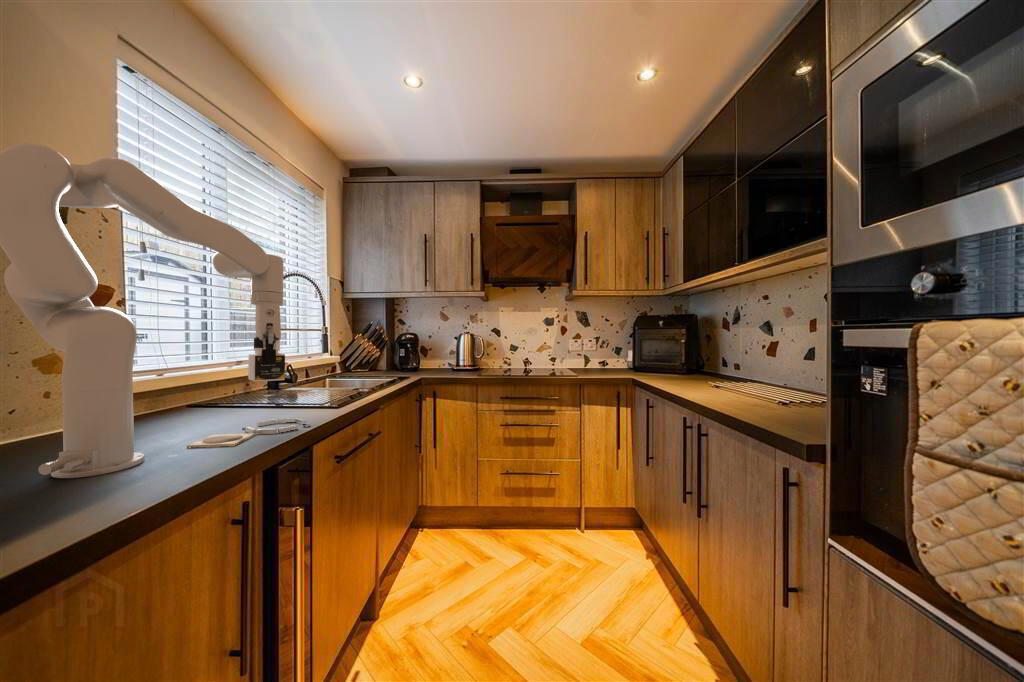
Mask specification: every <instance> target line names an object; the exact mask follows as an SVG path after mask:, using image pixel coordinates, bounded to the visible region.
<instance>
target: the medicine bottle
mask: <svg viewBox="0 0 1024 682" xmlns="http://www.w3.org/2000/svg"><path fill="white" fill-rule="evenodd" d="M278 339H279V338H275V345H276V349H275V350H276V364H275V365H262V350H263V341H261V340H260V339H259V337H256V336H255V337H254V338H253V351H254V353H253V352H252V353H249V354H248V361H247V362H248V365H247V367H248V370H247V371H248V372H247V373H248V376H247V380H249V381H252V382H256V383H257V382H258V383H259V382H270V381H271V382H274V381H285V378H286V377H285V376H286V375H285V374H286V354H285V353H279V352H280V351H281V350H280V349H281V339H280V340H279V341H277V340H278Z"/></svg>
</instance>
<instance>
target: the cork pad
mask: <svg viewBox="0 0 1024 682" xmlns="http://www.w3.org/2000/svg"><path fill="white" fill-rule="evenodd" d="M255 436H256V434H255V433H247V432H245V433H227V434H226V433H225V434H223V433H222V434H211V435H209V436H207V437H204V438H202V439H200V440H197V441H194V442H192V443H190V444H187V445H186V449H190V448H189V447H206V448H221V447H220V446H229V447H236V446H237V444H238V445H240V444H242V443H244V442H246V441H247V439H248V440H249V439H251V438H253V437H255ZM245 440H246V441H245ZM243 441H244V442H243ZM241 442H242V443H241ZM239 443H240V444H239ZM235 445H236V446H235Z"/></svg>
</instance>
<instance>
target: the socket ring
mask: <svg viewBox="0 0 1024 682" xmlns="http://www.w3.org/2000/svg"><path fill="white" fill-rule="evenodd" d="M286 422H298V423H301V424H305V423H308V422H307V420H306V419H303V418H300V417H298V418H296V417H292V418H291V417H290V418H289V417H288V418H277V419H276V418H274V419H267V420H261V421H257V422H256V426H257V427H258V428H255V427H252V426H244V427H242V428H241V430H242V431H245V432H244V433H247V432H248V433H255V436H256V435H273V434H274V435H275V434H282V433H281V432H284V433H287V432H286V431H289V432H291V431H290V430H294V431H296V430H295V429H298V430H299V424H294V425H288V426H284V427H278V428H276V427H275V428H274V427H273V428H259V427H264V426H271V425H276V423H277V424H287V423H286ZM270 424H271V425H270ZM301 424H300V425H301ZM310 425H311V424H306V425H303V426H310ZM310 427H311V426H310ZM244 429H245V430H244Z"/></svg>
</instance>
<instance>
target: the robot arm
mask: <svg viewBox="0 0 1024 682" xmlns="http://www.w3.org/2000/svg"><path fill="white" fill-rule="evenodd" d="M118 206H119V207H120V208H122V209H123V210H125V211H126V212H128V213H130V214H132V215H133V216H134V217H136V218H137V219H139V220H141V221H142V222H144V223H145V224H147V225H149V226H150V227H152V228H153V229H154V230H156V231H158V232H159V233H160V234H162V235H164V236H166V237H168V238H170V239H171V238H172V239H173V240H178V241H181V242H184V243H186V242H187V243H191V244H195V245H199V246H203V247H204V248H208V249H210V250H212V251H215V253H214V255H213V257H212V266H213V268H214V270H216V272H218V274H220V275H222V276H224V277H228V278H233V279H236V278H237V279H240V278H241V279H250V304H251V305H253V306H255V337H259V339H260V340H261V341H263V350H262V365H275V364H276V350H275V349H276V345H275V338H279V339H278V340H277V341H279V340H280V341H281V339H282V329H281V327H282V326H281V325H282V323H281V322H282V321H281V308H280V307H282V306H284V260H283V258H282V256H280V255H278V254H273V253H268V252H266V251H265V250H264V249H263V247H262V246H260V244H258V243H257V242H256V241H254V240H253V239H252V238H250V237H249V236H247V234H246V233H244V232H242V231H241V230H239V229H237V228H236V227H234V226H232V225H231V224H229V223H227V222H225V221H223V220H219V219H218V218H215V217H213V216H211V215H209V214H207V213H205V212H202V211H200V210H197V209H195V208H194V207H193V206H191V205H189V204H188V203H186V202H185V201H184V200H182V199H181V198H180V197H178V196H177V195H176V194H174V193H173V192H172V191H171V190H169V189H168V188H166V187H165V186H164V185H163V184H161V183H160V182H158V181H157V180H156V179H154V178H153V177H152V176H150V175H148V174H147V173H146V172H144V171H143V170H142V169H141V168H139V167H138V166H136V165H134V164H133V163H131V162H130V161H127V160H126V159H123V158H118V157H106V158H101V159H98V160H95V161H92V162H89V163H87V164H71V163H70V162H69V161H68V159H67V158H66V157H65V156H64V155H62V153H60V152H59V151H57V150H55V149H53V148H51V147H50V146H46V145H43V144H39V143H33V142H29V143H28V142H27V143H18V144H14V145H12V146H10V147H8V148H6V149H4V150H2V151H0V248H1V249H2V251H3V252H4V253H5V255H6V257H7V259H8V260H9V261H10V264H9V265H8V266H7V267H6V269H5V272H4V276H3V282H4V285H5V287H6V290H7V291H8V294H9V296H10V297H11V299H12V300H13V301H14V302H15V304H16V305H17V307H18V308H19V309H20V310H21V312H22V313H23V315H24V316H25V317H26V318H27V320H28V321H29V322H30V323H31V325H32V326H33V327H34V329H35V330H36V331H37V333H38V335H40V337H42V339H43V340H44V341H45V342H46V343H47V344H48V345H49V346H51V347H52V348H53V349H56V350H57V351H59V352H62V353H64V357H63V358H64V359H63V363H62V370H61V371H62V372H61V391H62V392H61V395H62V397H61V400H62V401H61V402H62V405H61V406H62V440H63V441H62V442H63V445H62V446H63V448H62V449H63V450H62V451H61V452H60V451H59V452H58V458H57V459H55V460H52V461H48V462H45V463H42V464H40V465H39V466H38V472H39V474H41V475H42V476H43V475H45V476H46V475H49V474H50V476H51V477H52V478H55V479H56V478H57V479H76V478H86V477H87V478H88V477H93V476H99V475H104V474H109V473H114V472H119V471H123V470H126V469H129V468H132V467H135V466H138V465H140V464H141V463H144V461H145V453H142V452H135V438H134V436H135V433H134V431H135V429H134V426H135V425H134V386H133V382H134V381H133V379H134V378H133V376H134V373H133V371H134V370H133V368H134V356H135V352H136V346H137V340H138V338H137V337H138V333H137V327H136V325H135V322H134V321H132V319H131V318H130V317H129V316H128V315H126V314H125V313H124V312H122V311H121V310H118V309H115V308H111V307H107V306H95V305H94V304H93V302H92V300H91V299H90V297H92V295H94V293H95V292H96V291H97V289H98V286H99V285H98V278H97V275H96V274H95V272H94V270H93V268H92V267H91V266H90V265H89V263H88V261H87V260H86V259H85V257H84V255H83V253H82V252H81V251H80V249H79V248H78V247H77V244H76V243H75V242H74V240H73V239H72V237H71V235H70V234H69V232H68V229H67V228H66V227H65V224H64V223H63V221H62V218H61V216H60V212H59V207H63V208H64V207H65V208H83V209H84V208H88V209H89V208H90V209H95V208H96V209H99V208H101V209H103V208H105V209H106V208H115V207H118Z"/></svg>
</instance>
